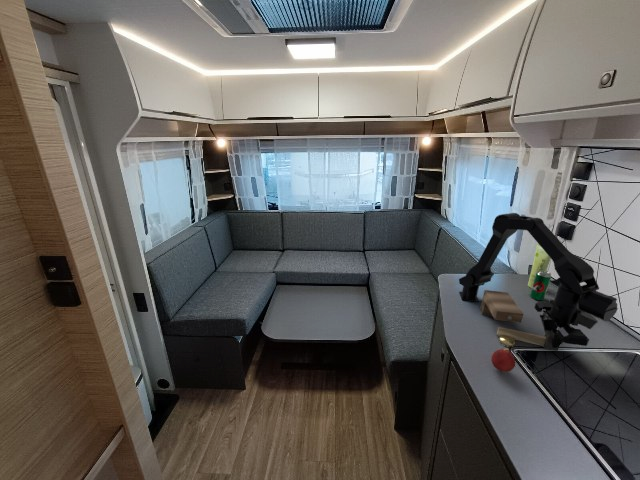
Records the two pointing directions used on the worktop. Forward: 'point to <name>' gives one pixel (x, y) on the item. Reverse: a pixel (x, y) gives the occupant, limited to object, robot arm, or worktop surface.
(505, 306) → the walnut cabinet
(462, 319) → the worktop surface
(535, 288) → the soda can
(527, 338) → the wooden mallet
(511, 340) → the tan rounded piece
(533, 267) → the tube
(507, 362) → the onion
